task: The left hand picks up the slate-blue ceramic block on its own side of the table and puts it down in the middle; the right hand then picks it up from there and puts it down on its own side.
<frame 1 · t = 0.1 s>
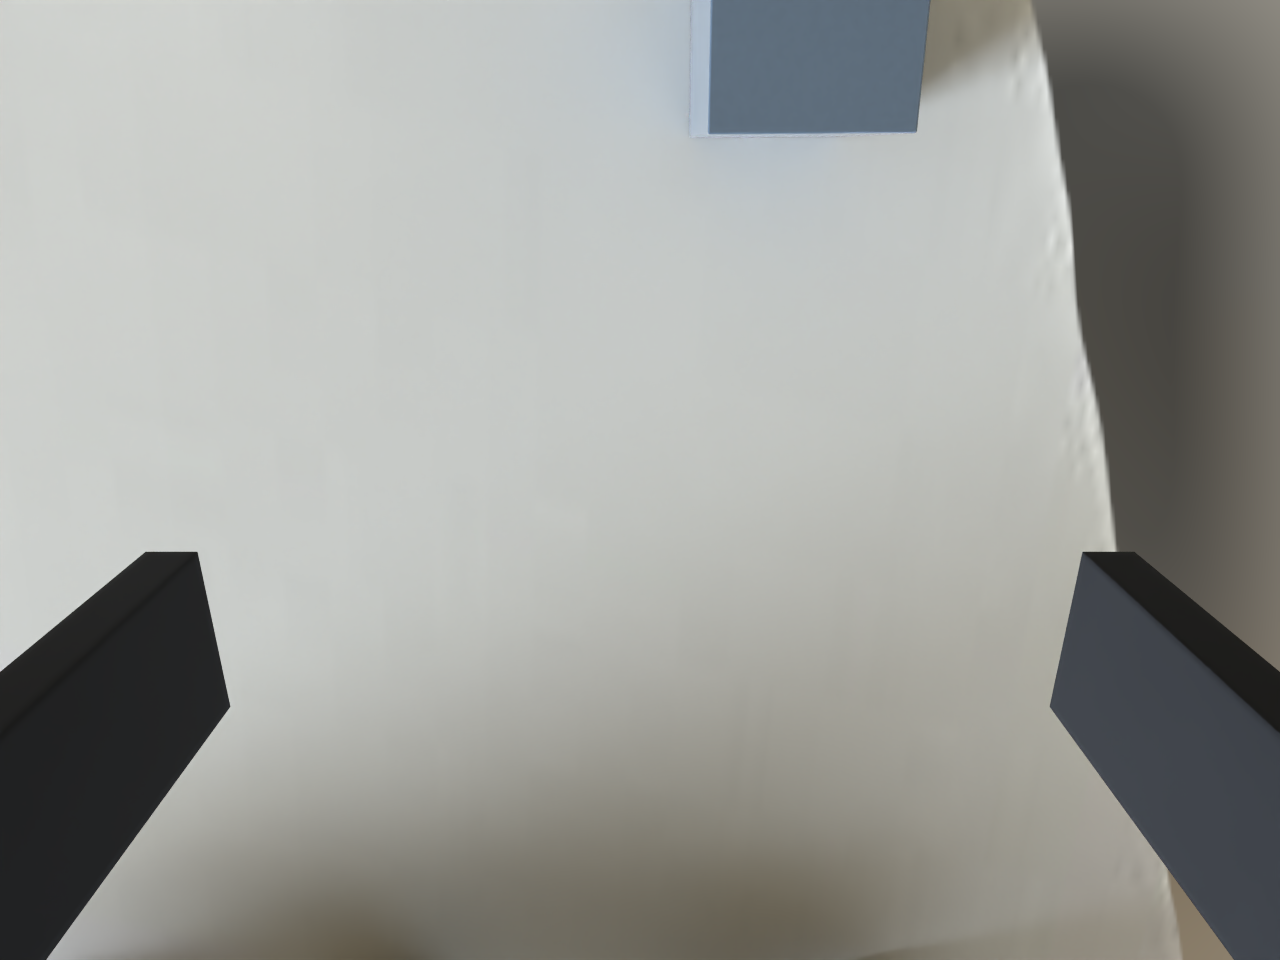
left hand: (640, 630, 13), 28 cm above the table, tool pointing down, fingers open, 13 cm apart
block: (768, 51, 35), on the table
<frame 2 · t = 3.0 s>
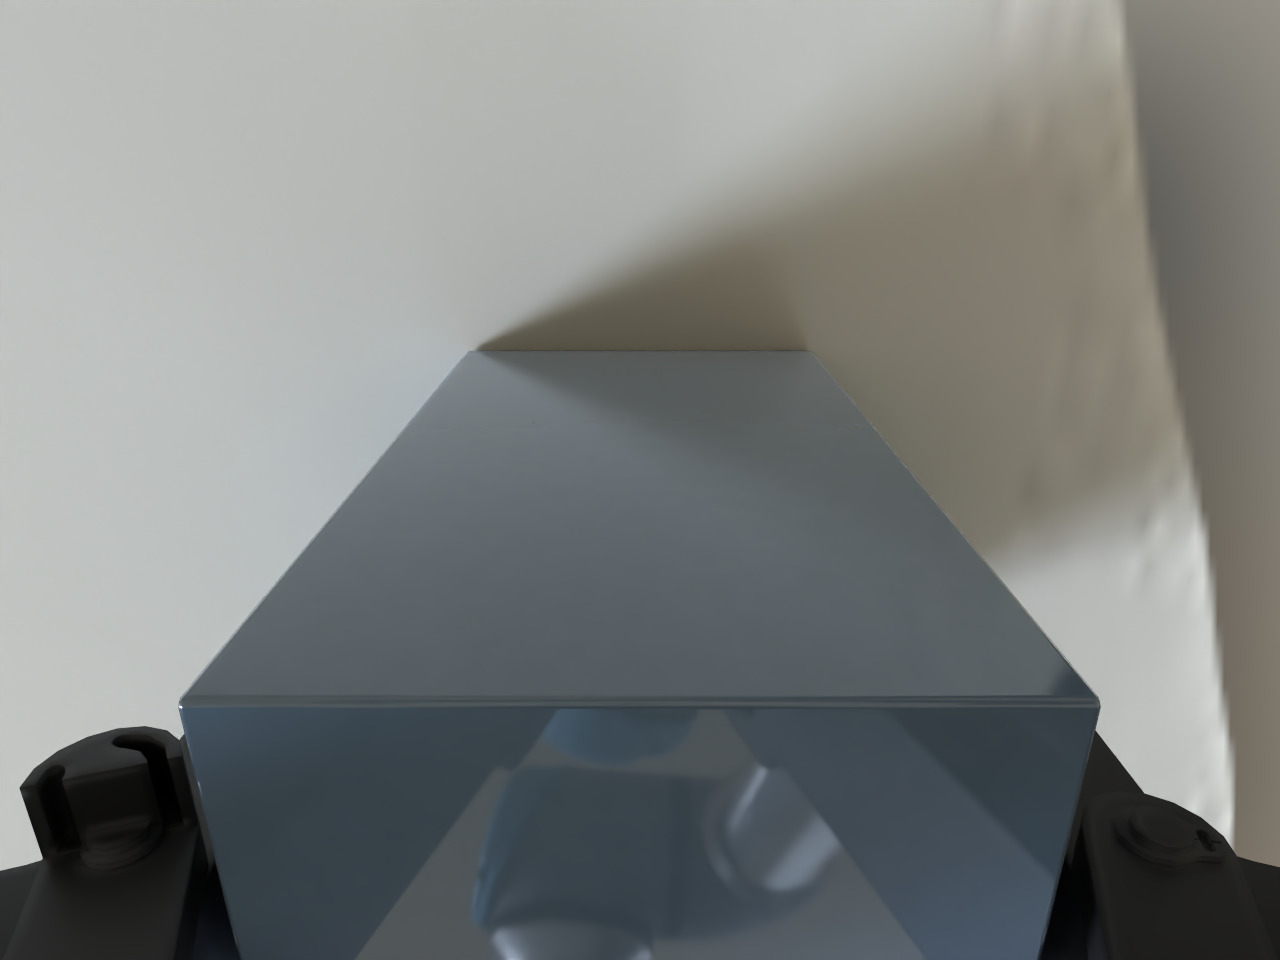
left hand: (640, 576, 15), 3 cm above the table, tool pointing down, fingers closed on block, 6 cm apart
block: (639, 511, 17), on the table, touching left hand
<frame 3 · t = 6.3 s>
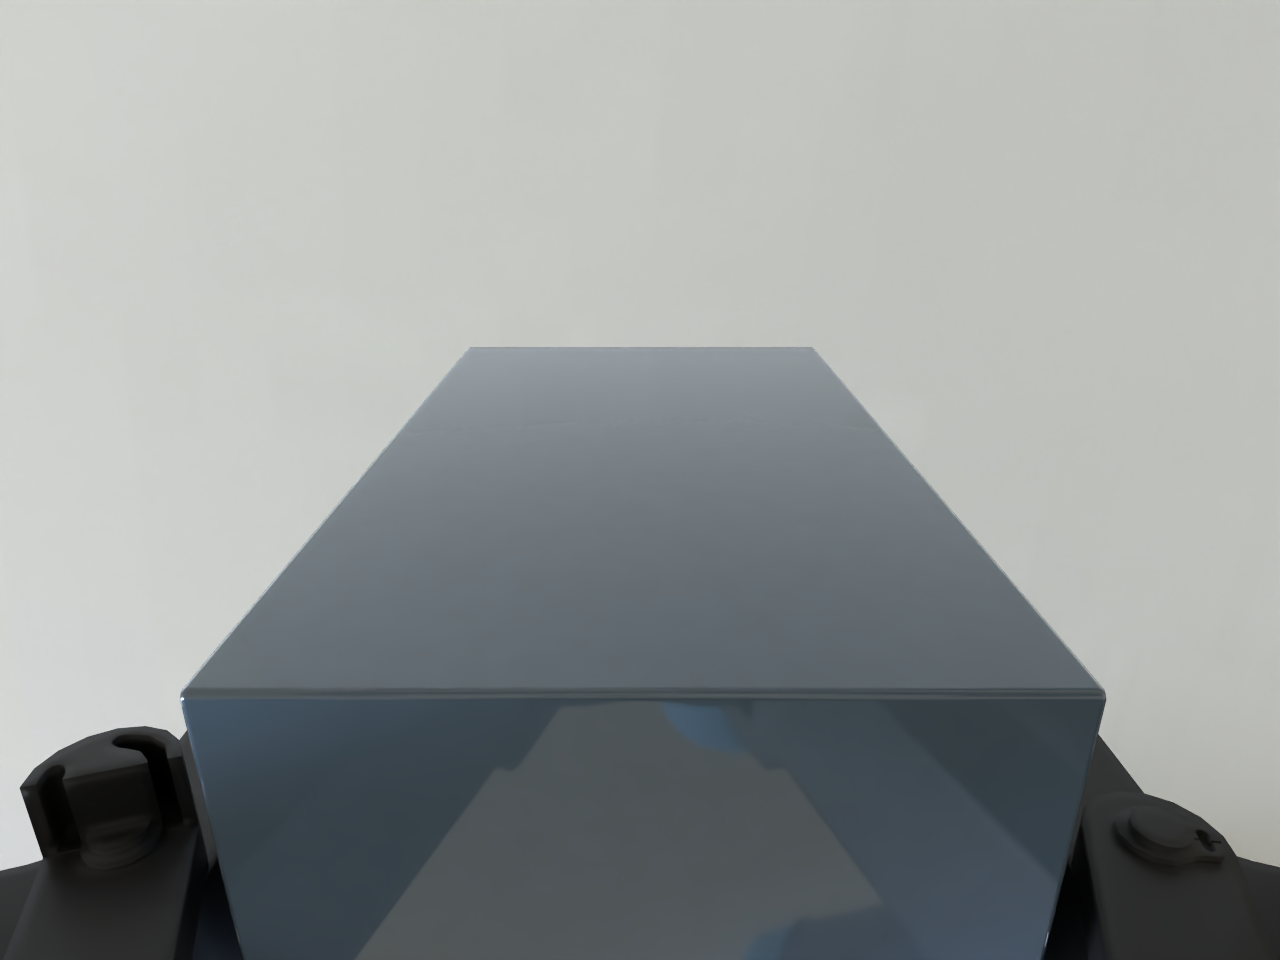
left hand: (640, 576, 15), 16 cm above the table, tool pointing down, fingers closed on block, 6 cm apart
block: (641, 508, 17), point 14 cm above the table, touching left hand
when the left hand's fingers open (4 cm above the table, at t = 10.0 s): block drops 1 cm, on the table.
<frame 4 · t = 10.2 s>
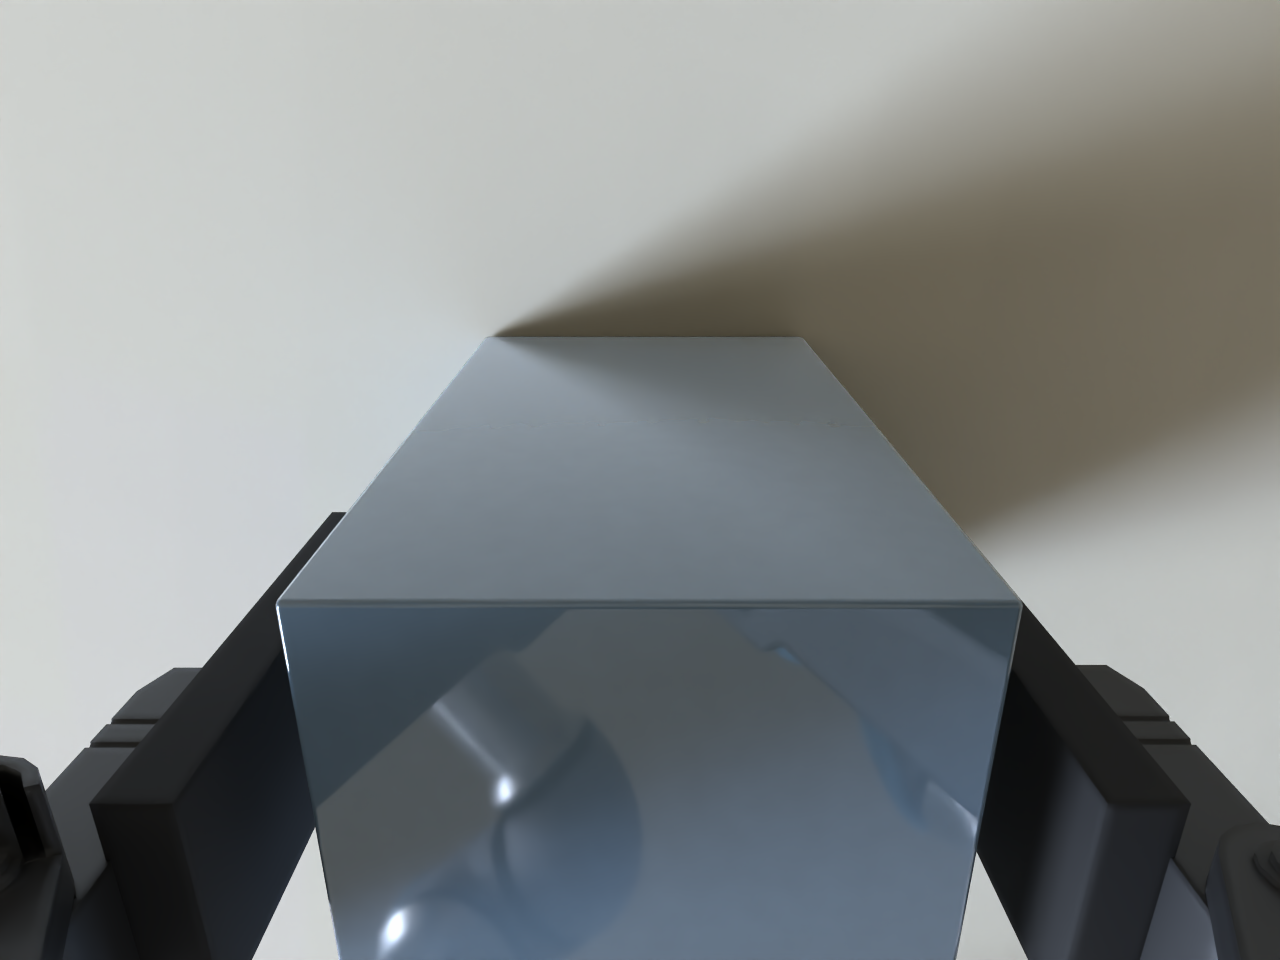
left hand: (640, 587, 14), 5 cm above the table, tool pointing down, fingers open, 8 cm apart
block: (643, 485, 18), on the table
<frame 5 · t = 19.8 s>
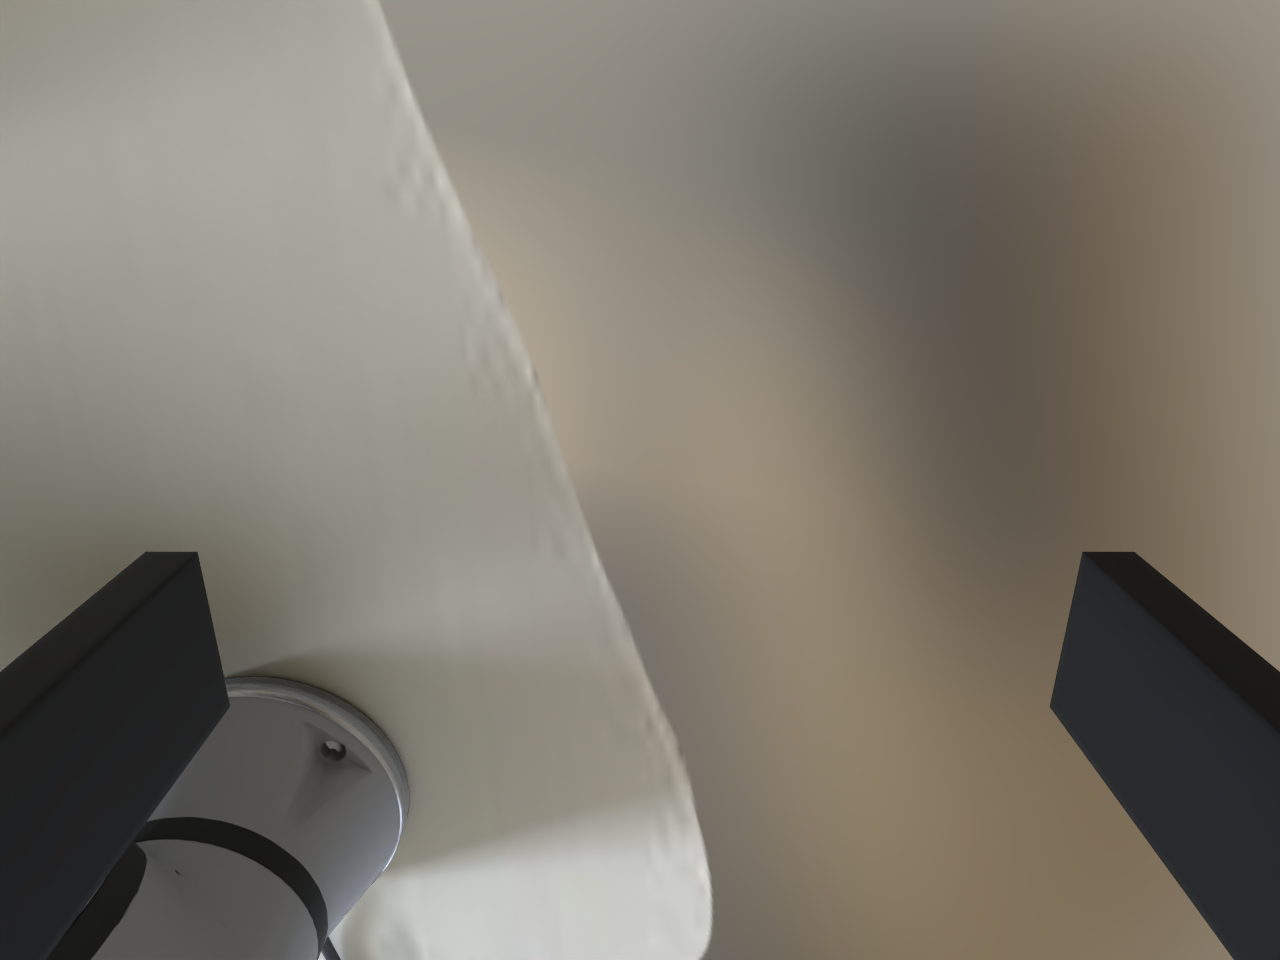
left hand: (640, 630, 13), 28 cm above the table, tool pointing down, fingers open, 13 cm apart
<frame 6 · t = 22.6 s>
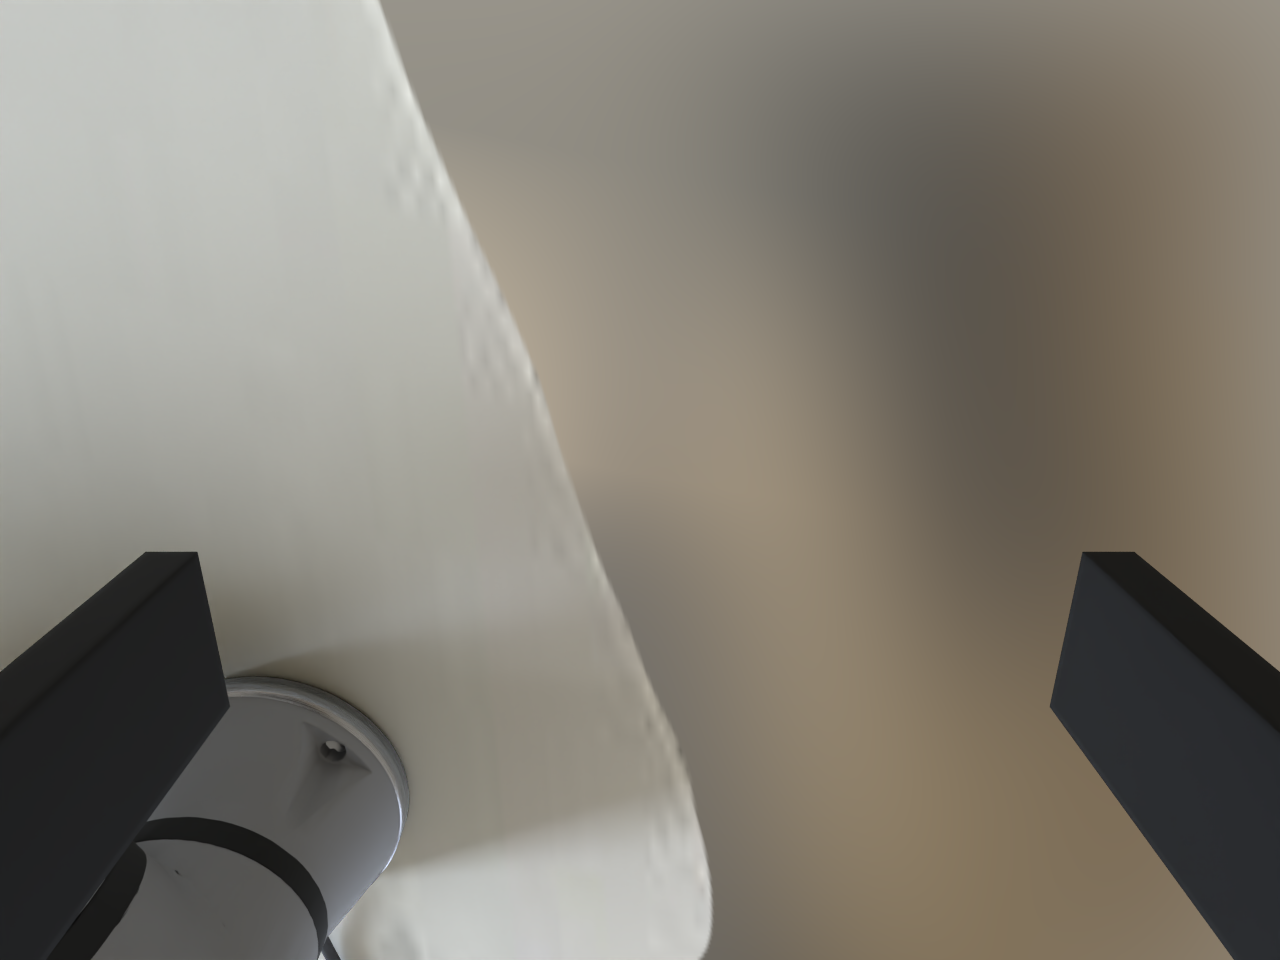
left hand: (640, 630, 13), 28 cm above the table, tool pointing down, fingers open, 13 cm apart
when the right hand's fingers open (4 cm above the table, at t = 25.5 s): block drops 1 cm, on the table.
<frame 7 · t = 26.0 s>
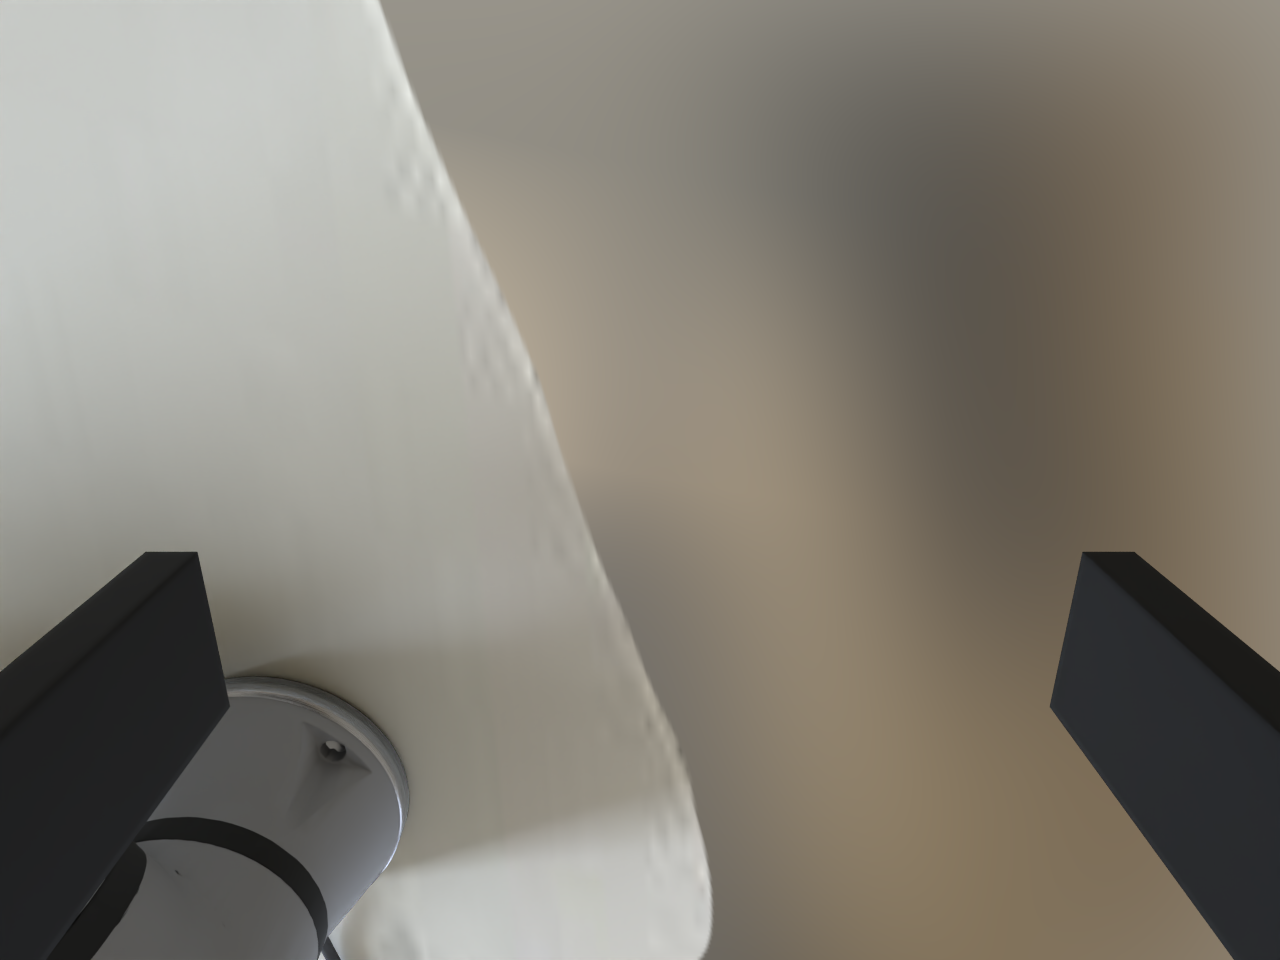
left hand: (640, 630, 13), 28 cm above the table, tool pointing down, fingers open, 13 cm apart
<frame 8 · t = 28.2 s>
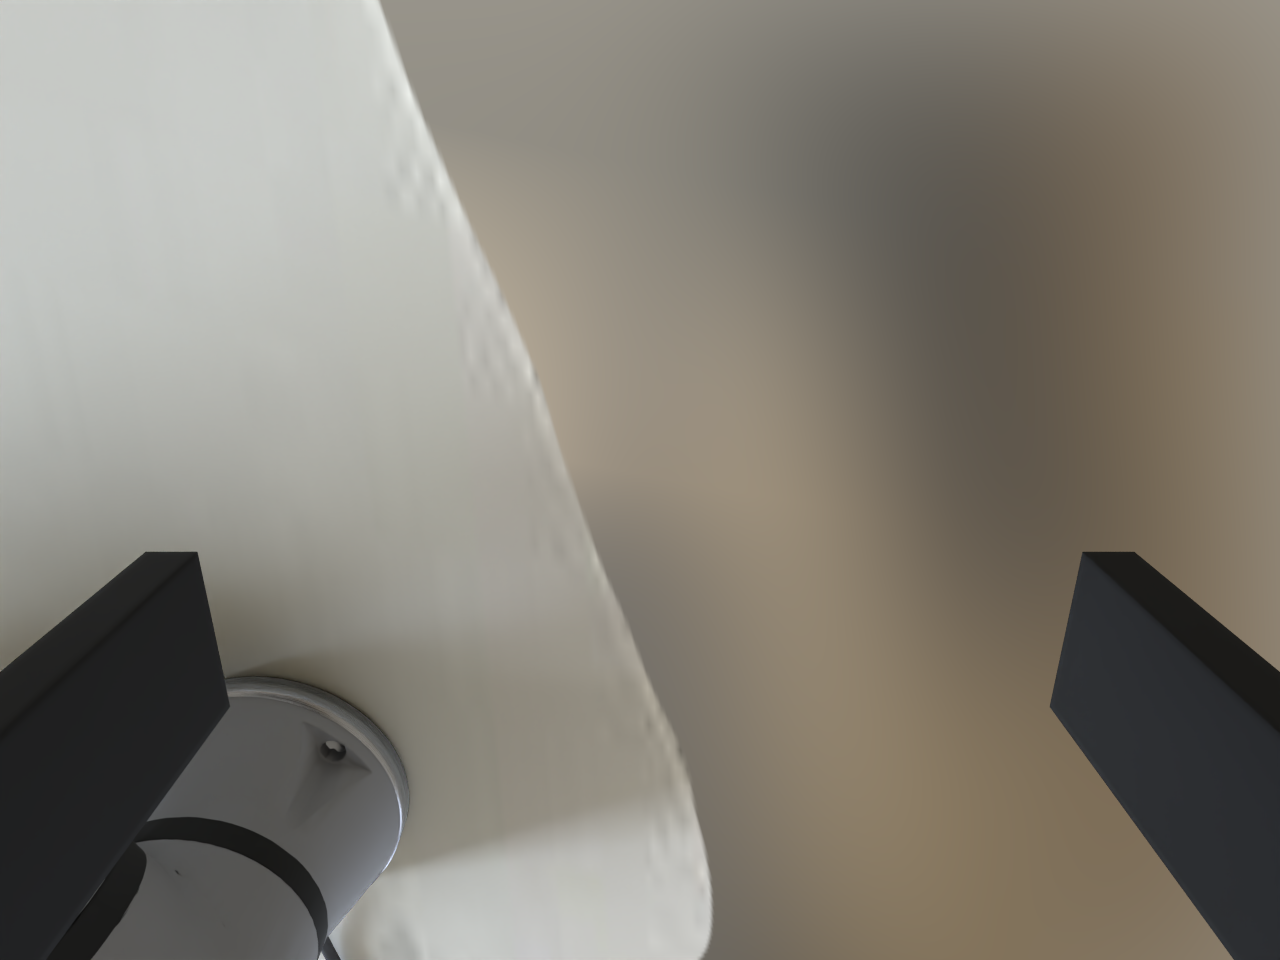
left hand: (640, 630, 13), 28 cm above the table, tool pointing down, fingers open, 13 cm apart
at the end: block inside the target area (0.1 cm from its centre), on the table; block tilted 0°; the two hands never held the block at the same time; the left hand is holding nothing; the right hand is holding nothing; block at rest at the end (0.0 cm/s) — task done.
